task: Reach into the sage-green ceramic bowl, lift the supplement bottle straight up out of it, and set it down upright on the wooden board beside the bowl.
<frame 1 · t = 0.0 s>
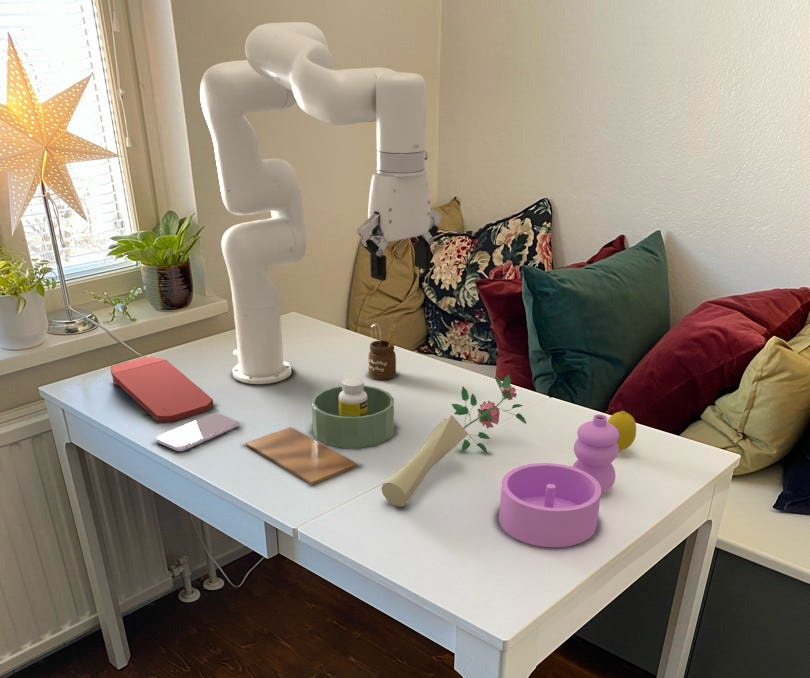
hand: (400, 273, 146), 31 cm above the table, tool pointing down, fingers open, 9 cm apart
mobile phone: (198, 434, 165), on the table
wooden board: (300, 455, 158), on the table
bowl: (353, 430, 167), on the table
utensil holder: (382, 376, 190), on the table
container set: (563, 510, 142), on the table
flower vase: (449, 468, 154), on the table
red wedge block: (159, 397, 180), on the table
supplement bottle: (353, 430, 167), resting in bowl
lemon: (617, 452, 160), on the table
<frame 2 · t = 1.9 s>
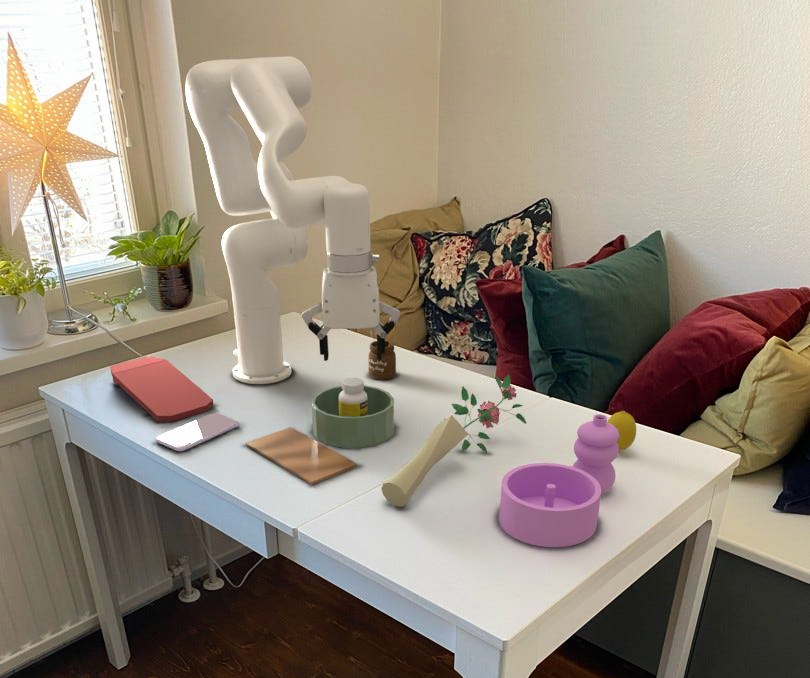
hand: (352, 357, 159), 15 cm above the table, tool pointing down, fingers open, 9 cm apart
nothing on the table moved.
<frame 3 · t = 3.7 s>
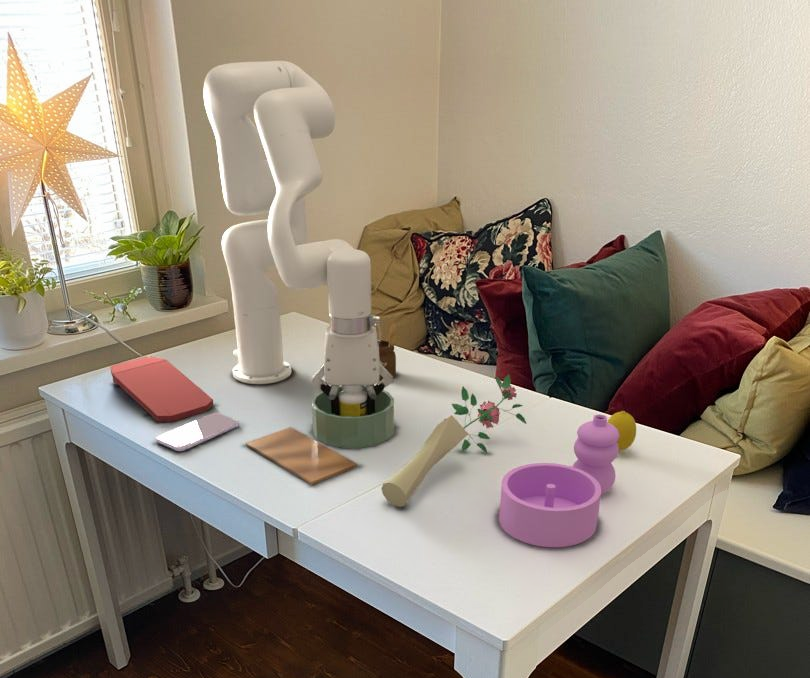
hand: (353, 415, 165), 3 cm above the table, tool pointing down, fingers closed on supplement bottle, 5 cm apart
supplement bottle: (353, 430, 167), resting in bowl, touching gripper
everything else where it was.
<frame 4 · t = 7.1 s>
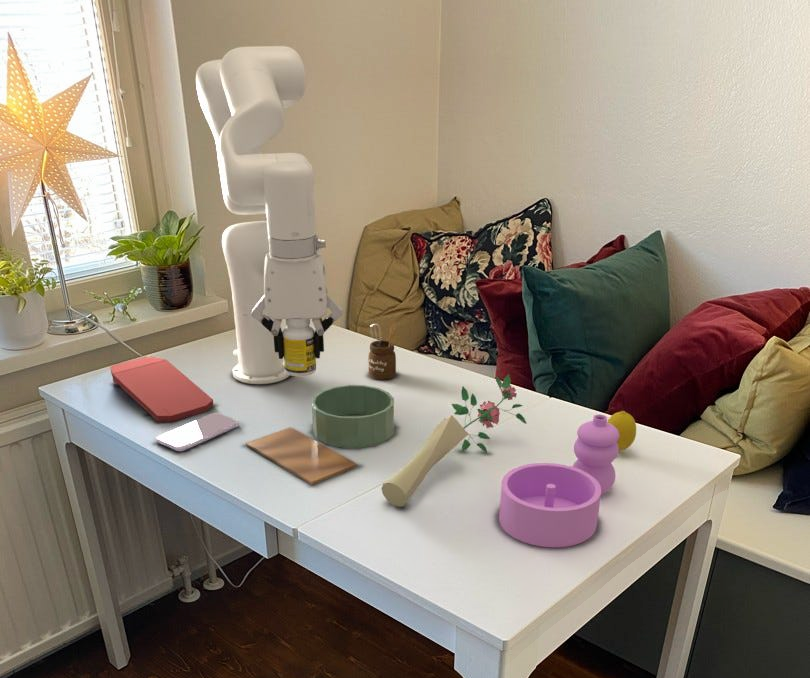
hand: (299, 354, 149), 19 cm above the table, tool pointing down, fingers closed on supplement bottle, 5 cm apart
supplement bottle: (300, 372, 150), point 15 cm above the table, touching gripper
everything else where it was.
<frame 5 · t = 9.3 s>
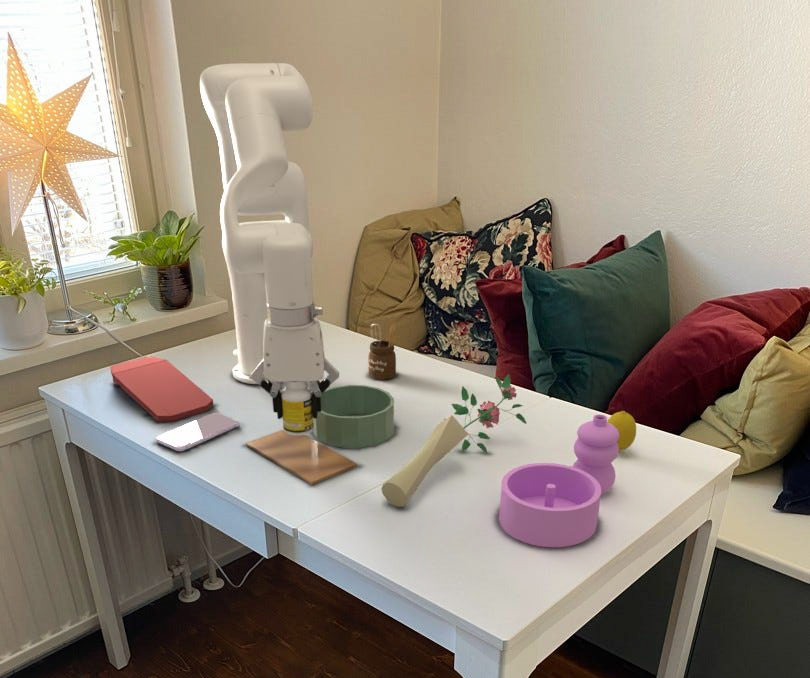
hand: (297, 414, 153), 8 cm above the table, tool pointing down, fingers closed on supplement bottle, 5 cm apart
supplement bottle: (298, 431, 155), point 5 cm above the table, touching gripper
everything else where it was.
when the fingers open (4 cm above the table, at t = 10.8 s): supplement bottle stays where it is, resting on wooden board.
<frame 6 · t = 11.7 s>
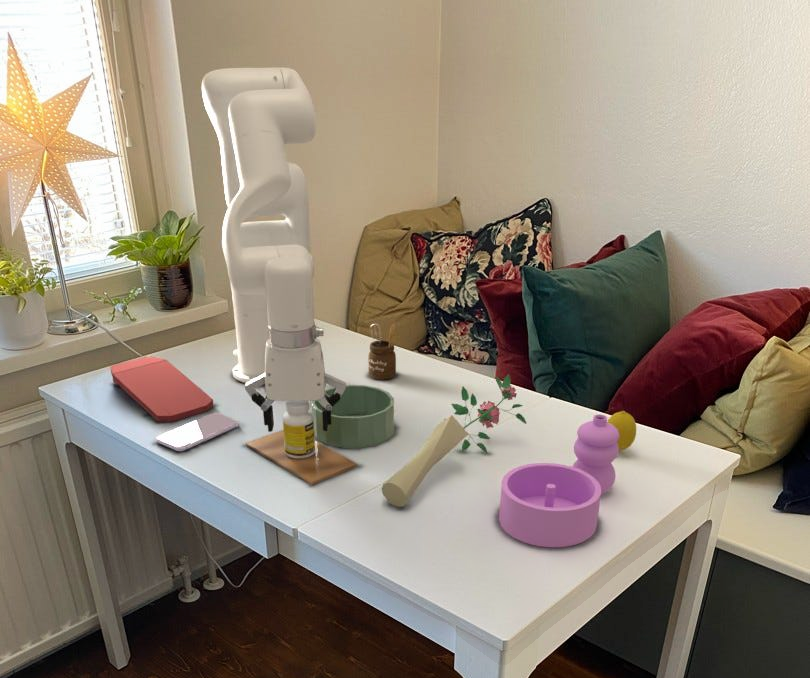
hand: (298, 428, 155), 5 cm above the table, tool pointing down, fingers open, 9 cm apart
supplement bottle: (300, 453, 158), resting on wooden board
everything else where it was.
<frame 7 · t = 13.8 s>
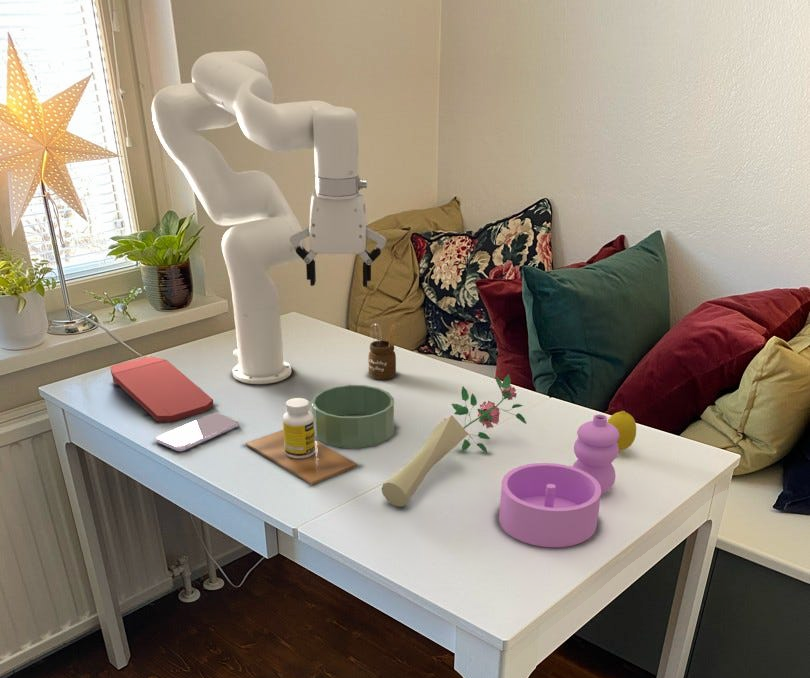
hand: (339, 284, 162), 25 cm above the table, tool pointing down, fingers open, 9 cm apart
nothing on the table moved.
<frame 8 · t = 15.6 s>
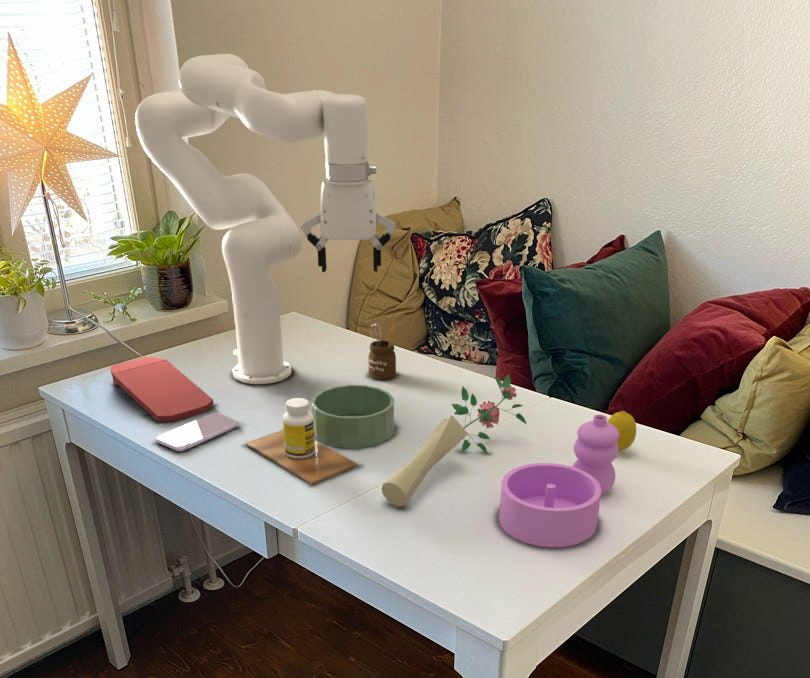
hand: (349, 270, 165), 26 cm above the table, tool pointing down, fingers open, 9 cm apart
nothing on the table moved.
at the end: supplement bottle inside the target area on the wooden board (0.0 cm from its centre), point 0.4 cm above the wooden board's base; supplement bottle tilted 0°; the gripper is holding nothing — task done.
